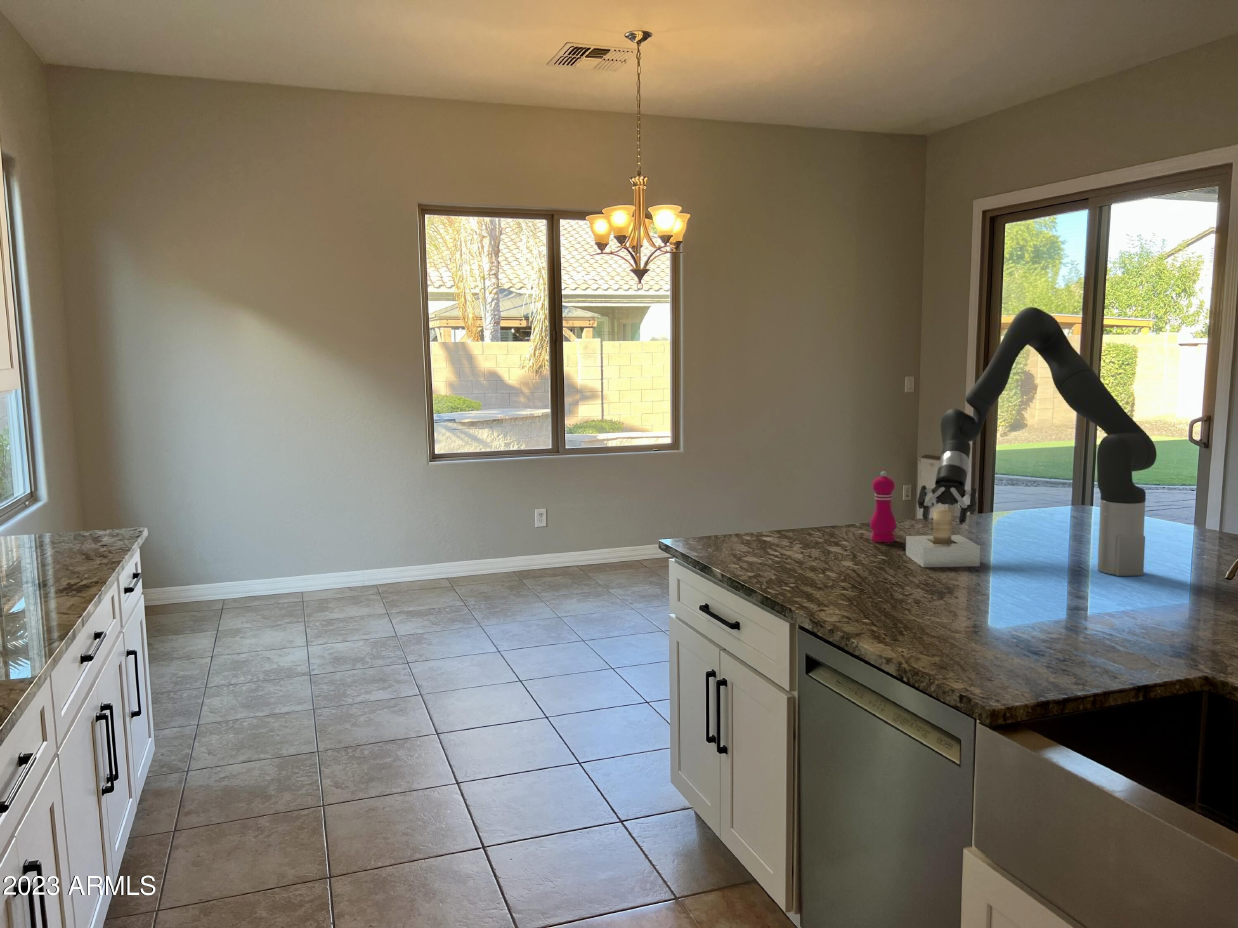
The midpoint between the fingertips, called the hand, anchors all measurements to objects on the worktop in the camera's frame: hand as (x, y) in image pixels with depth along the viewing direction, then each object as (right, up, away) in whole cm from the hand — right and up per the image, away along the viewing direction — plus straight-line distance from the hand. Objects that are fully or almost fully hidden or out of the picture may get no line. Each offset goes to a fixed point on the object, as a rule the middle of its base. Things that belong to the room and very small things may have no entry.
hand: (943, 521), depth 221 cm
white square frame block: (0, -10, 0) cm, 10 cm away
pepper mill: (-8, -7, +25) cm, 27 cm away
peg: (0, -10, 0) cm, 10 cm away
